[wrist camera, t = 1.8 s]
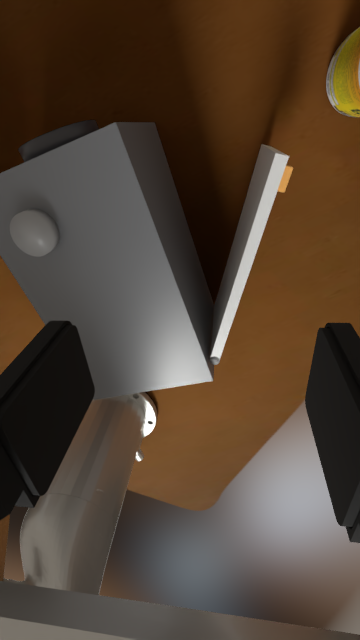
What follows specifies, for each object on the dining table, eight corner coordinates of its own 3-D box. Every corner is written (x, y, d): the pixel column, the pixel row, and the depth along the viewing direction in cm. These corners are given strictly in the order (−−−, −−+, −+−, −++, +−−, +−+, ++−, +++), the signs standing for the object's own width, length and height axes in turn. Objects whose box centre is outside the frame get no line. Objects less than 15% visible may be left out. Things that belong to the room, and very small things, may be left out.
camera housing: (217, 315, 36) (212, 388, 26) (125, 335, 40) (90, 407, 29) (149, 106, 26) (100, 96, 16) (34, 157, 30) (-65, 174, 20)
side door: (228, 312, 35) (228, 368, 27) (212, 309, 35) (208, 363, 27) (282, 148, 26) (306, 160, 18) (260, 143, 26) (274, 152, 18)
